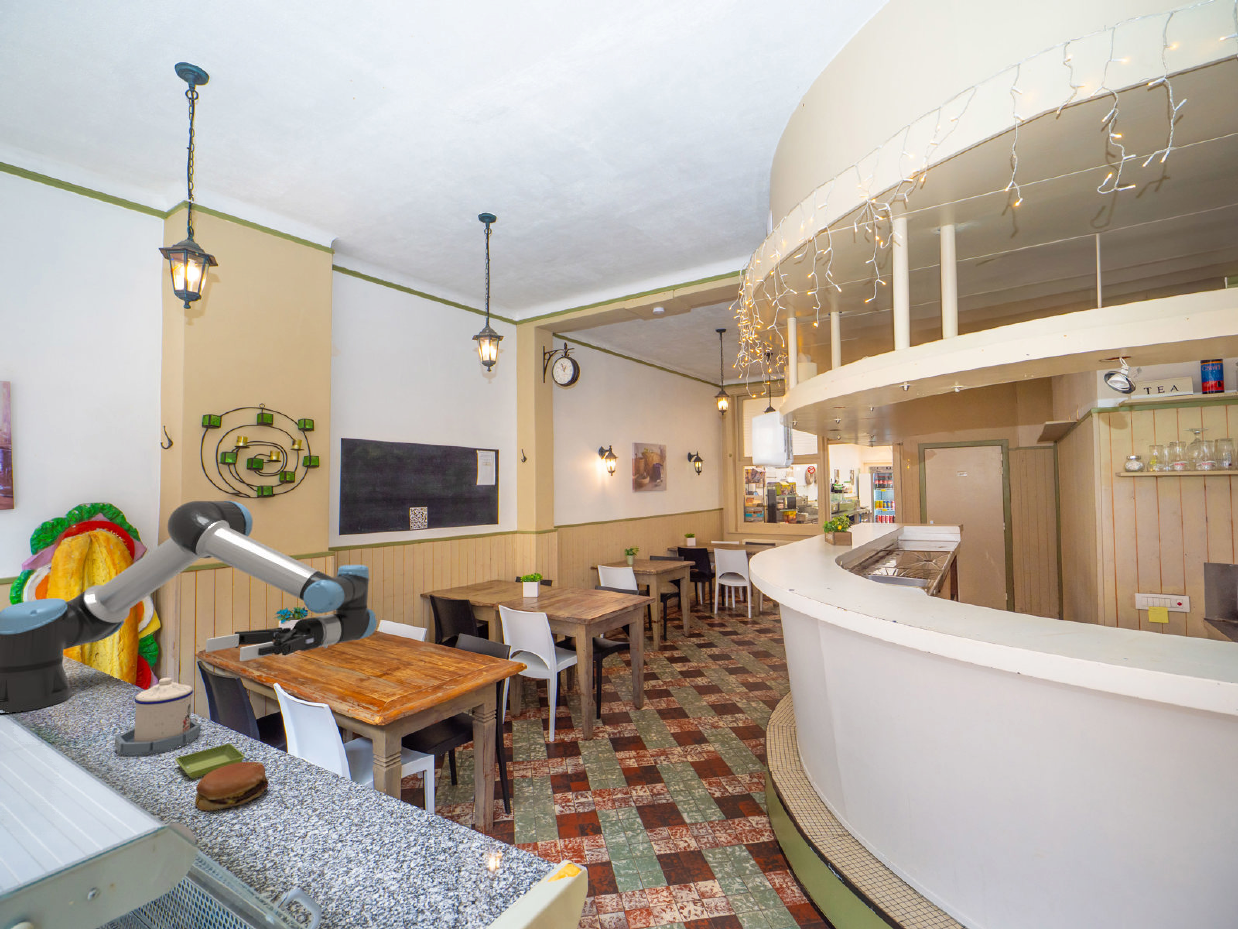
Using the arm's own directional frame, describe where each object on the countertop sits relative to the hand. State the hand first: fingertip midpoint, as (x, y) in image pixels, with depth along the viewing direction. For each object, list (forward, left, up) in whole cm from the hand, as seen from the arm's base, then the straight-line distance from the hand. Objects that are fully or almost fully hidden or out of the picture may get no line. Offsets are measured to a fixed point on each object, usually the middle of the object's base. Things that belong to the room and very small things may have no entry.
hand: (223, 650), depth 127 cm
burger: (+38, -10, -16) cm, 42 cm away
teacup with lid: (+2, -11, -15) cm, 18 cm away
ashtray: (+2, -11, -15) cm, 19 cm away
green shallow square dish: (+22, -8, -16) cm, 29 cm away
